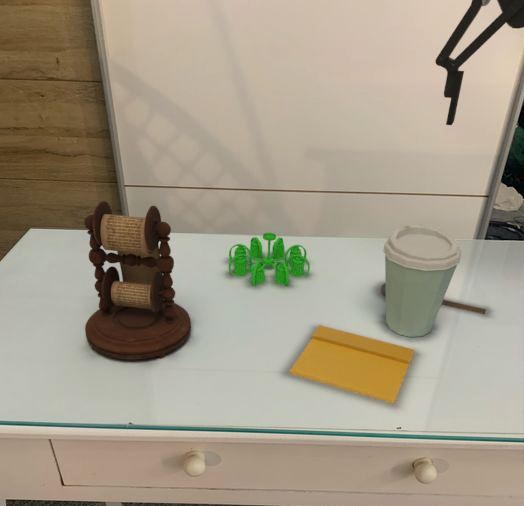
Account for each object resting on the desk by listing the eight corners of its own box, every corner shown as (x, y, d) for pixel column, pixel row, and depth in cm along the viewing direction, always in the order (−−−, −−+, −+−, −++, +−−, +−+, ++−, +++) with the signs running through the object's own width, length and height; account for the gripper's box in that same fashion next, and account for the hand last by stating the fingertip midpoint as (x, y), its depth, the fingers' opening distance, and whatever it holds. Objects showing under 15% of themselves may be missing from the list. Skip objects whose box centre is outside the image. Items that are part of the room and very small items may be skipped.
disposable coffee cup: (456, 341, 82) (482, 247, 74) (396, 355, 79) (415, 259, 70) (414, 307, 90) (433, 219, 82) (357, 318, 87) (371, 228, 78)
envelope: (412, 357, 79) (414, 347, 78) (392, 407, 70) (395, 396, 68) (319, 333, 83) (320, 323, 82) (289, 377, 74) (290, 366, 73)
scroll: (202, 317, 86) (197, 190, 74) (174, 374, 74) (163, 233, 62) (111, 307, 88) (93, 181, 76) (69, 360, 76) (40, 221, 64)
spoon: (486, 307, 91) (488, 300, 90) (482, 324, 87) (484, 318, 86) (384, 284, 97) (385, 278, 96) (375, 299, 92) (376, 293, 91)
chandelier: (295, 299, 91) (298, 260, 87) (212, 281, 95) (211, 244, 91) (319, 262, 103) (323, 226, 99) (244, 248, 107) (245, 213, 103)
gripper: (433, -66, 65) (404, 124, 77) (678, -66, 57) (603, 145, 70) (443, -63, 71) (414, 113, 83) (666, -63, 63) (599, 132, 75)
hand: (500, 128), depth 76 cm, fingers open, 13 cm apart
